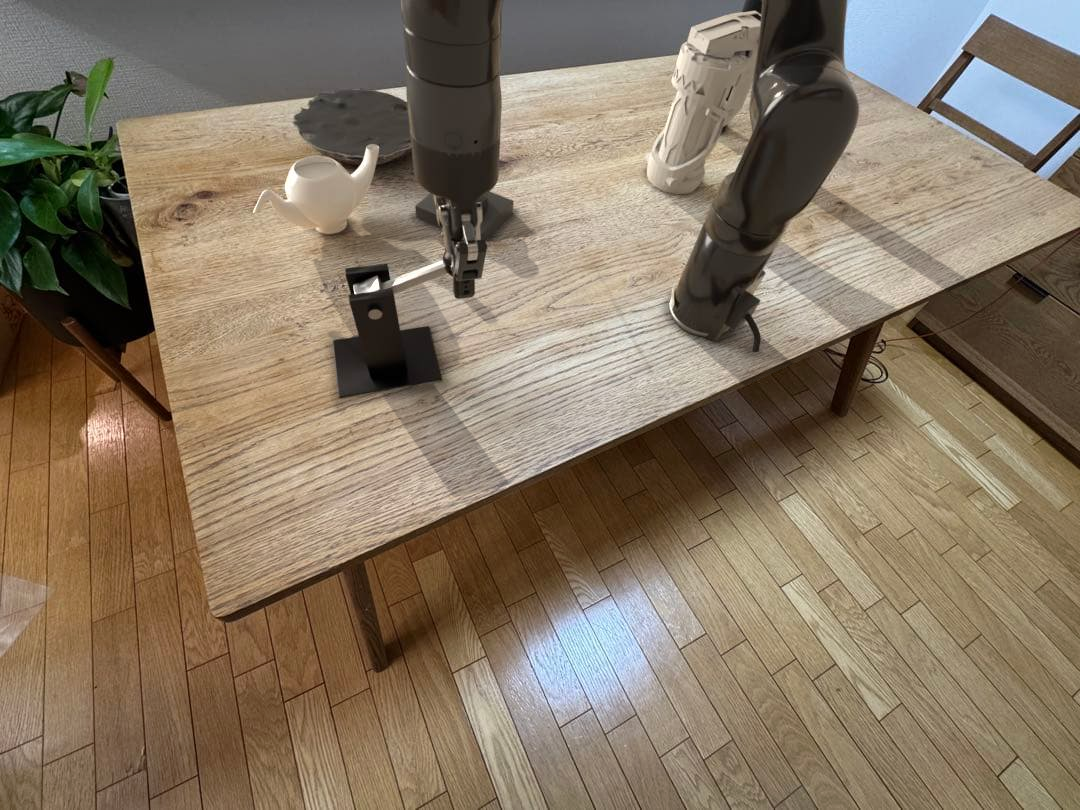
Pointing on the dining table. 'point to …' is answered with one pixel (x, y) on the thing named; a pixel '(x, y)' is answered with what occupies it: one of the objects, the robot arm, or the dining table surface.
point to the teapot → (322, 192)
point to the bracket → (381, 343)
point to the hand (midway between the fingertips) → (459, 281)
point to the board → (356, 125)
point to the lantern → (704, 98)
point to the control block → (492, 210)
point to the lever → (407, 278)
